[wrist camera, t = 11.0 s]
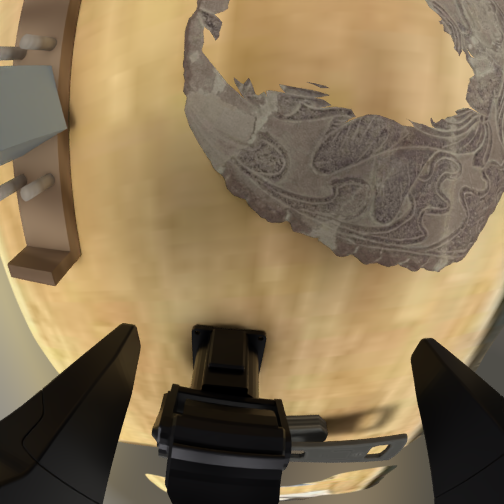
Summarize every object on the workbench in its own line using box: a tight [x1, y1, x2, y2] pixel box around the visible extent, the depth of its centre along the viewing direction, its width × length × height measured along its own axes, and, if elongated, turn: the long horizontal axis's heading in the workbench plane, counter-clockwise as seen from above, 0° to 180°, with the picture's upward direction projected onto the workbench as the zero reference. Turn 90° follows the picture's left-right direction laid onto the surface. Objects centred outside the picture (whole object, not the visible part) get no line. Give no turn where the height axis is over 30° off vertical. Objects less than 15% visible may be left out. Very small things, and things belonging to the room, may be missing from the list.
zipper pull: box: [286, 415, 407, 463], centre depth 32 cm, size 9×7×25 cm
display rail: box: [0, 0, 81, 286], centre depth 14 cm, size 24×5×4 cm, turn 174°
